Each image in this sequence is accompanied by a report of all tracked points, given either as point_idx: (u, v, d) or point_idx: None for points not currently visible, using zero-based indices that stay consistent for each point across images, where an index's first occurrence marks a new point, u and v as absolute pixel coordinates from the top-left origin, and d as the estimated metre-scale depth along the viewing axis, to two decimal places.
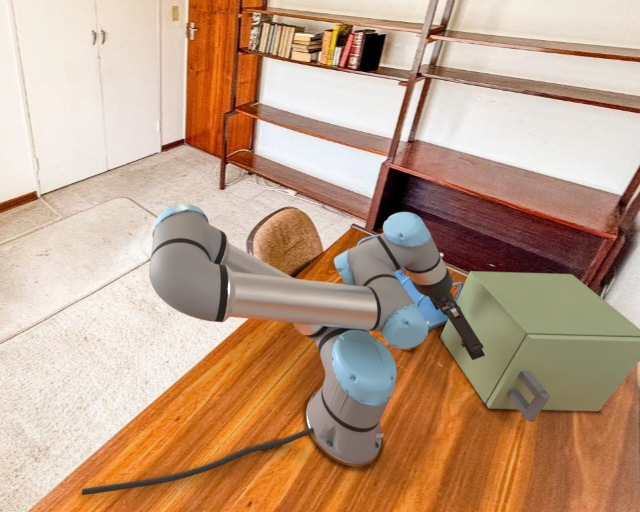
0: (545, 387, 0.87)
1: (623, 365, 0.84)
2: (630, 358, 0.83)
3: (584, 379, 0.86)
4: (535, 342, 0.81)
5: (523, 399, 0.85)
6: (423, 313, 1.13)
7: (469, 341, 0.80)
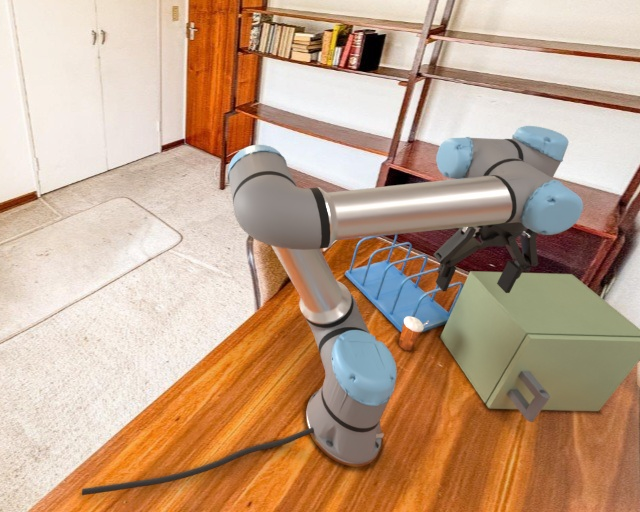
0: (545, 387, 0.87)
1: (623, 365, 0.84)
2: (630, 358, 0.83)
3: (584, 379, 0.86)
4: (535, 342, 0.81)
5: (523, 399, 0.85)
6: (423, 313, 1.13)
7: (442, 249, 0.81)
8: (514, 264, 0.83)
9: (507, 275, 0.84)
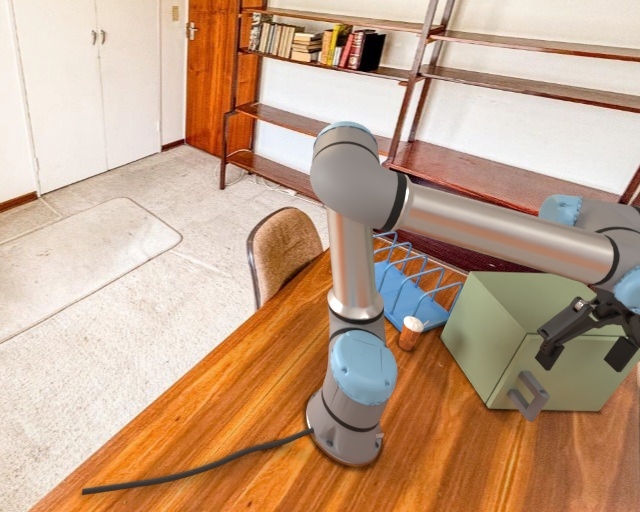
0: (545, 387, 0.87)
1: None
2: None
3: (584, 379, 0.86)
4: (535, 342, 0.81)
5: (523, 399, 0.85)
6: (423, 313, 1.13)
7: (548, 326, 0.72)
8: (628, 341, 0.73)
9: (619, 352, 0.74)
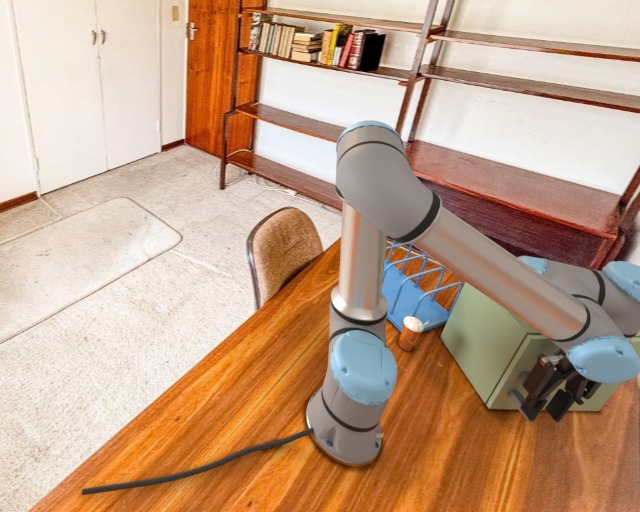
0: None
1: None
2: None
3: None
4: (535, 342, 0.81)
5: (523, 399, 0.85)
6: (423, 313, 1.13)
7: (528, 381, 0.79)
8: (565, 394, 0.80)
9: (557, 403, 0.81)
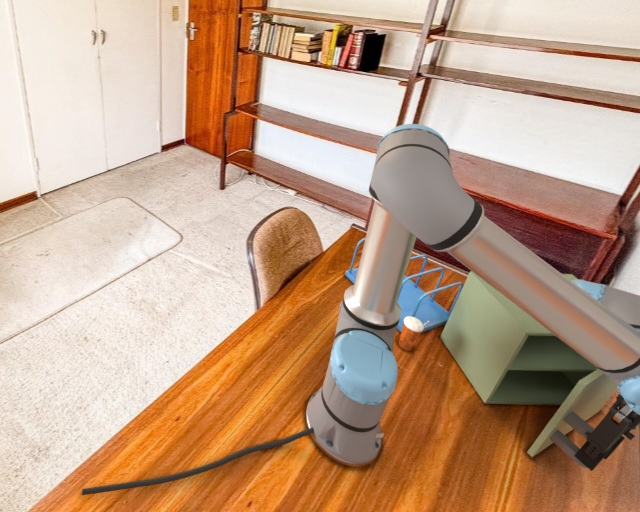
0: None
1: None
2: None
3: (602, 394, 0.83)
4: (587, 386, 0.72)
5: (570, 442, 0.78)
6: (423, 313, 1.13)
7: (596, 436, 0.70)
8: None
9: None
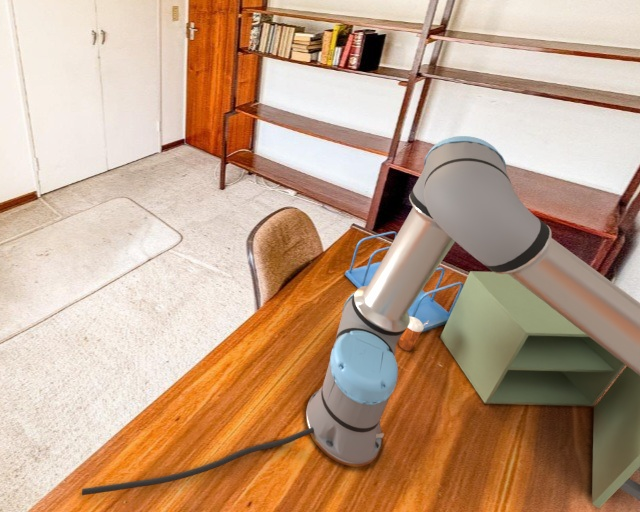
0: None
1: None
2: None
3: None
4: None
5: (635, 483, 0.72)
6: (423, 313, 1.13)
7: None
8: None
9: None
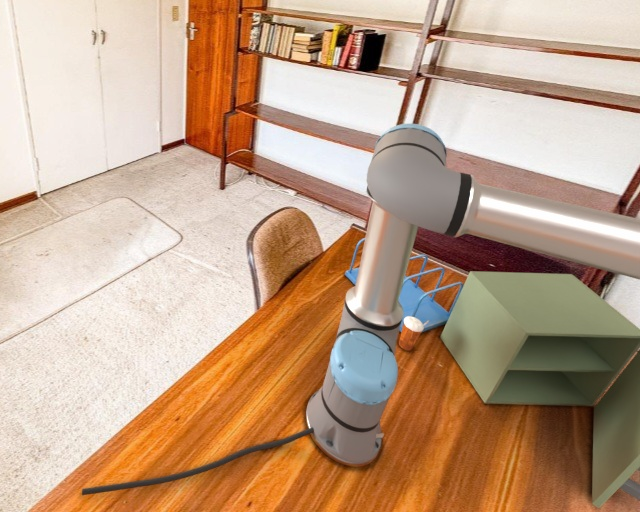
0: None
1: None
2: None
3: None
4: None
5: (635, 483, 0.72)
6: (423, 313, 1.13)
7: None
8: None
9: None
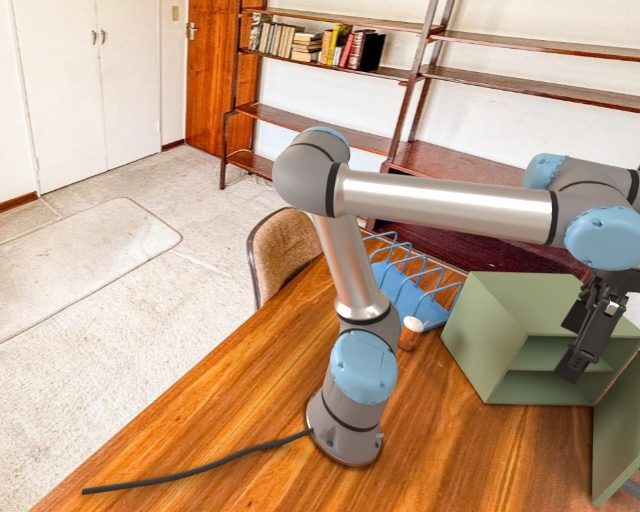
0: None
1: None
2: None
3: None
4: None
5: (635, 483, 0.72)
6: (423, 313, 1.13)
7: (587, 343, 0.59)
8: (585, 303, 0.71)
9: (578, 316, 0.72)
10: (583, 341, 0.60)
